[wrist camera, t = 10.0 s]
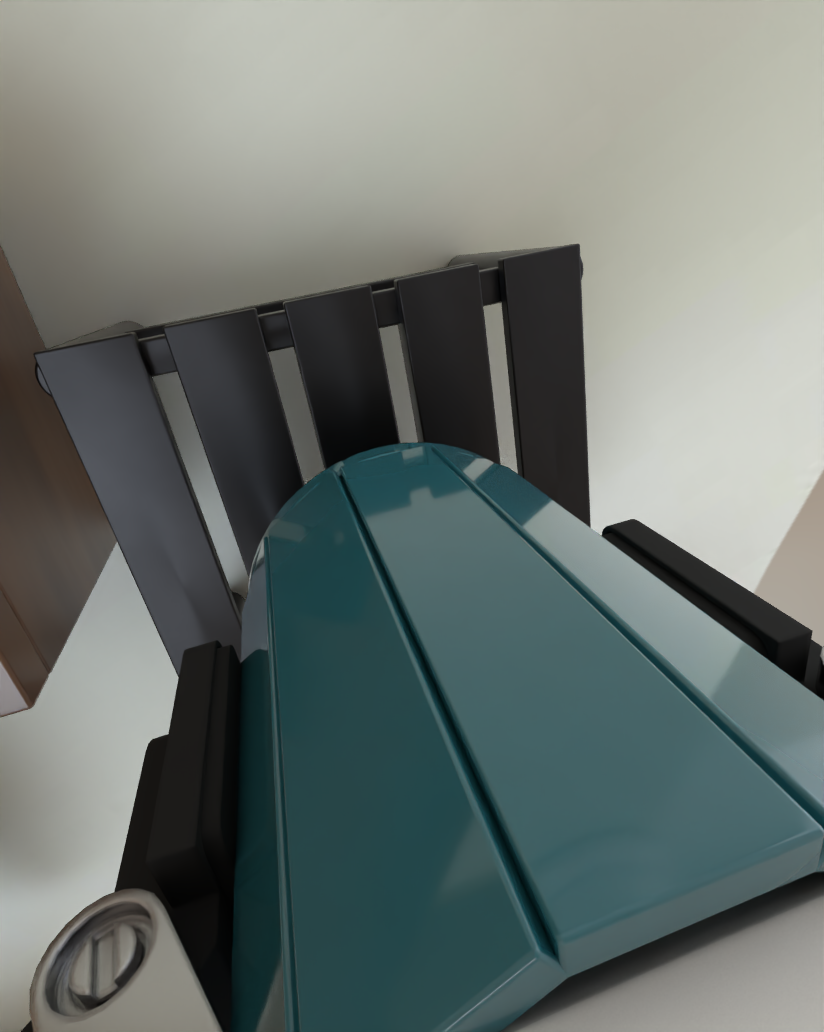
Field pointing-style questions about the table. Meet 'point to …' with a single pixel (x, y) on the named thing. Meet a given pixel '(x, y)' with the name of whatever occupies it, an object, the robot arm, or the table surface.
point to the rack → (315, 409)
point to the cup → (487, 754)
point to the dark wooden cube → (39, 515)
